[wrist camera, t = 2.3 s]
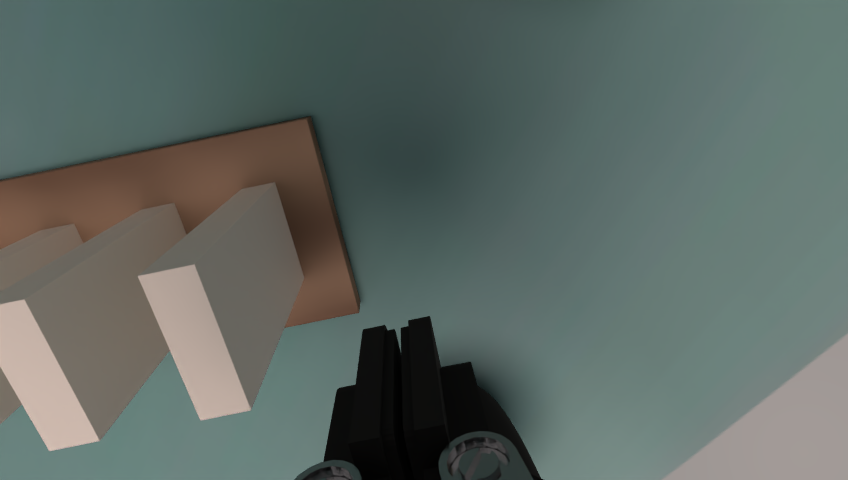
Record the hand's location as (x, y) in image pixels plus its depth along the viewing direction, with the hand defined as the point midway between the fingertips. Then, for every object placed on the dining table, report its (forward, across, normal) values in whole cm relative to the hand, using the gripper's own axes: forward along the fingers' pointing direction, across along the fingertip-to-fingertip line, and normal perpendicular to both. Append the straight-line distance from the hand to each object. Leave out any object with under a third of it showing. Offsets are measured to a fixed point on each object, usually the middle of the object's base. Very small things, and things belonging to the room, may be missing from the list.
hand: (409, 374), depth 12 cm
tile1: (+13, +6, -1) cm, 14 cm away
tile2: (+13, +11, -1) cm, 17 cm away
